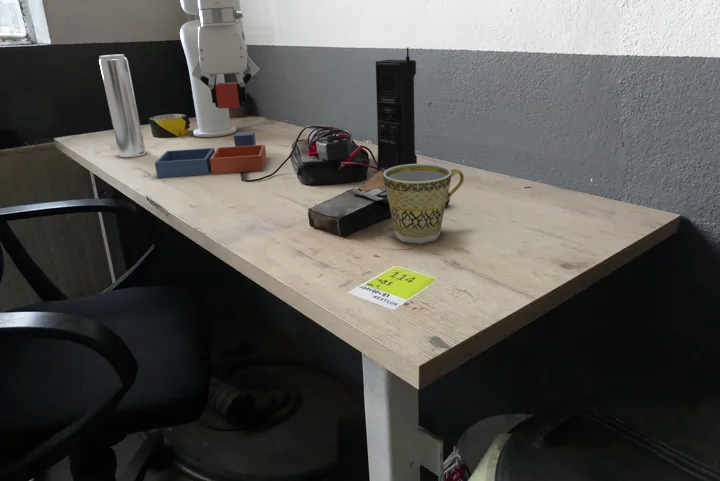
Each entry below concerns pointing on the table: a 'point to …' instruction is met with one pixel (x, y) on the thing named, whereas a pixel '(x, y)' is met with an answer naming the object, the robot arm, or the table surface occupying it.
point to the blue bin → (184, 163)
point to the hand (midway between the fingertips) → (230, 104)
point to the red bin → (238, 159)
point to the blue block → (244, 138)
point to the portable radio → (395, 112)
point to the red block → (227, 95)
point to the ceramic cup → (418, 199)
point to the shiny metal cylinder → (122, 105)
